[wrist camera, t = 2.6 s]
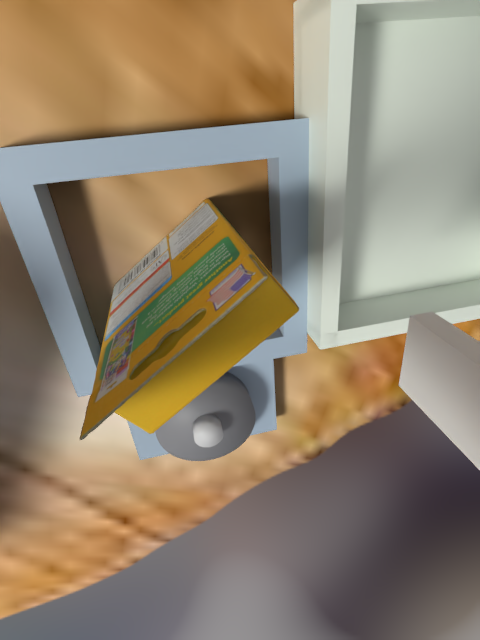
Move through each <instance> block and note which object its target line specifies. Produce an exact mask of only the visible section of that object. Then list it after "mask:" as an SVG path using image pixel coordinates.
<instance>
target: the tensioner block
mask: <svg viewBox="0 0 480 640" xmlns="http://www.w3.org/2000/svg"><path fill="white" fill-rule="evenodd" d="M259 159H267V161H268V184H269V208H270V232H271V255H272V275H273V276H274V277H275V279H276V280H277V281H278V282H279V283H280V284H281V285H282V287H283V288H284V289H285V290H286V291H287V293H288V294H289V295H290V296H291V297H292V299H293V300H294V301H295V303H296V304H297V305H298V307H299V311H298V312H297V313H296V314H295V315H294V316H292V317H291V318H290V319H289V320H288V321H287V322H285V323H284V324H283V325H282V326H281V327H280V328H278V329H277V330H276V331H275V332H274V333H272V334H271V335H270V336H269V337H268V338H266V339H265V340H264V341H263V342H262V343H260V344H259V345H258V346H257V347H256V348H255V349H253V350H252V351H251V352H250V353H249V354H248V355H246V356H245V357H244V358H243V359H241V360H240V361H239V362H238V363H237V364H236V365H234V366H233V367H232V368H231V369H230V370H228V371H227V372H226V373H225V374H224V375H222V376H221V377H220V378H219V379H218V380H216V381H215V382H214V383H213V384H211V385H210V386H209V387H208V388H207V389H206V390H204V391H203V392H202V393H201V394H199V395H198V396H197V397H196V398H195V399H193V400H192V401H191V402H190V403H189V404H187V405H186V406H185V407H184V408H183V409H182V410H180V411H179V412H178V413H177V414H176V415H174V416H173V417H172V418H171V419H169V420H168V421H167V422H166V423H165V424H163V425H162V426H161V427H160V428H159V429H157V430H156V431H155V432H154V433H152V434H149V433H147V432H146V431H144V430H143V429H141V428H139V427H138V426H136V425H134V424H133V423H131V422H129V421H128V420H127V421H128V424H129V427H130V431H131V434H132V437H133V440H134V443H135V446H136V449H137V452H138V455H139V458H140V460H143V459H147V458H152V457H156V456H160V455H165V454H169V453H170V454H171V455H173V456H175V457H178V458H181V459H185V460H191V461H205V460H211V459H215V458H219V457H222V456H224V455H226V454H228V453H230V452H232V451H234V450H235V449H237V448H238V447H239V446H241V445H242V444H243V443H244V442H245V441H246V439H247V438H248V437H249V436H250V435H254V434H259V433H263V432H267V431H272V430H276V429H277V425H276V403H275V382H274V360H273V359H276V358H281V357H286V356H291V355H296V354H301V353H306V352H307V295H308V189H309V118H303V119H290V120H280V121H270V122H260V123H249V124H239V125H229V126H218V127H208V128H198V129H188V130H177V131H167V132H157V133H146V134H136V135H126V136H116V137H105V138H95V139H85V140H74V141H64V142H54V143H44V144H33V145H23V146H13V147H2V148H0V202H1V205H2V207H3V210H4V212H5V215H6V217H7V220H8V222H9V225H10V227H11V230H12V232H13V235H14V237H15V240H16V242H17V245H18V247H19V250H20V252H21V255H22V257H23V260H24V262H25V265H26V267H27V270H28V272H29V275H30V277H31V280H32V282H33V285H34V288H35V290H36V293H37V295H38V298H39V300H40V303H41V305H42V308H43V310H44V313H45V315H46V318H47V320H48V323H49V325H50V328H51V330H52V333H53V335H54V338H55V340H56V343H57V345H58V348H59V350H60V353H61V355H62V358H63V360H64V363H65V365H66V368H67V370H68V373H69V375H70V378H71V381H72V383H73V386H74V388H75V391H76V393H77V396H78V397H81V396H86V395H91V394H92V390H93V385H94V381H95V377H96V371H97V366H98V362H99V357H100V352H101V347H100V344H99V341H98V338H97V335H96V332H95V329H94V326H93V323H92V320H91V317H90V314H89V311H88V308H87V305H86V302H85V299H84V296H83V293H82V290H81V287H80V284H79V281H78V278H77V274H76V271H75V268H74V265H73V262H72V259H71V256H70V253H69V250H68V247H67V244H66V241H65V238H64V235H63V232H62V229H61V226H60V223H59V220H58V217H57V214H56V211H55V208H54V205H53V201H52V198H51V195H50V192H49V189H48V186H47V183H54V182H63V181H72V180H81V179H90V178H99V177H108V176H117V175H126V174H135V173H143V172H152V171H161V170H170V169H179V168H188V167H197V166H206V165H215V164H224V163H232V162H241V161H250V160H259Z"/></svg>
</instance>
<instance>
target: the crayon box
mask: <svg viewBox="0 0 480 640" xmlns="http://www.w3.org/2000/svg"><path fill="white" fill-rule="evenodd" d="M298 311H299V307H298V305H297V304H296V303H295V301H294V300H293V299H292V297H291V296H290V295H289V294H288V293H287V291H286V290H285V289H284V288H283V287H282V285H281V284H280V283H279V282H278V281H277V280H276V279H275V277H274V276H273V275H272V274H271V273H270V271H269V270H268V269H267V268H266V267H265V266H264V264H263V263H262V262H261V261H260V259H259V258H258V257H257V256H256V254H255V253H254V252H253V251H252V250H251V248H250V247H249V246H248V245H247V244H246V242H245V241H244V240H243V238H242V237H241V236H240V234H239V233H238V232H237V231H236V230H235V228H234V227H233V226H232V225H231V224H230V223H229V221H228V220H227V219H226V218H225V217H224V215H223V214H222V213H221V212H220V211H219V210H218V209H217V207H216V206H215V205H214V204H213V203H212V201H211V200H209V199H205V200H204V201H203V202H202V203H201V204H200V205H199V206H198V207H197V208H196V209H195V210H194V211H193V212H192V213H191V214H189V215H188V216H187V217H186V218H185V219H184V220H183V221H182V222H181V223H180V224H179V225H178V226H177V227H176V228H175V229H174V230H173V231H172V232H171V233H170V234H169V235H167V236H166V237H165V238H164V239H163V240H162V241H161V242H160V243H159V244H158V245H156V246H155V247H154V248H153V249H152V250H151V251H150V252H149V253H148V254H147V255H146V256H145V257H144V258H143V259H142V260H141V261H140V262H139V263H138V264H136V265H135V266H134V267H133V268H132V269H131V270H130V271H129V272H128V273H127V274H126V275H125V276H124V277H123V278H122V279H121V280H119V281H118V282H117V283H116V284H115V286H114V290H113V295H112V299H111V305H110V310H109V315H108V320H107V324H106V328H105V334H104V338H103V343H102V347H101V352H100V357H99V362H98V366H97V371H96V377H95V381H94V385H93V390H92V394H91V396H90V399H89V402H88V406H87V410H86V416H85V420H84V424H83V427H82V431H81V436H80V440H82V439H84V438H85V437H86V436H87V435H88V434H89V433H90V432H91V431H93V430H95V429H96V428H97V427H98V426H99V425H100V424H101V423H102V422H103V421H104V420H105V419H107V418H108V417H109V416H110V415H111V414H112V413H114V412H115V413H116V414H118V415H120V416H121V417H123V418H124V419H126V420H128V421H129V422H131V423H133V424H134V425H136V426H138V427H139V428H141V429H143V430H144V431H146V432H147V433H149V434H152V433H154V432H155V431H156V430H157V429H159V428H160V427H161V426H162V425H163V424H165V423H166V422H167V421H168V420H169V419H171V418H172V417H173V416H174V415H176V414H177V413H178V412H179V411H180V410H182V409H183V408H184V407H185V406H186V405H187V404H189V403H190V402H191V401H192V400H193V399H195V398H196V397H197V396H198V395H199V394H201V393H202V392H203V391H204V390H206V389H207V388H208V387H209V386H210V385H211V384H213V383H214V382H215V381H216V380H218V379H219V378H220V377H221V376H222V375H224V374H225V373H226V372H227V371H228V370H230V369H231V368H232V367H233V366H234V365H236V364H237V363H238V362H239V361H240V360H241V359H243V358H244V357H245V356H246V355H248V354H249V353H250V352H251V351H252V350H253V349H255V348H256V347H257V346H258V345H259V344H260V343H262V342H263V341H264V340H265V339H266V338H268V337H269V336H270V335H271V334H272V333H274V332H275V331H276V330H277V329H278V328H280V327H281V326H282V325H283V324H284V323H285V322H287V321H288V320H289V319H290V318H291V317H292V316H294V315H295V314H296V313H297V312H298Z"/></svg>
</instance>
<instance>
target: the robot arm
mask: <svg viewBox="0 0 480 640" xmlns="http://www.w3.org/2000/svg"><path fill="white" fill-rule="evenodd" d="M399 386H400V387H401V388H402V389H403V391H404V392H405V393H406V394H407V395H408V396H409V397H410V398H411V399H412V400H413V401H414V402H415V403H416V404H417V405H418V406H419V407H420V408H421V409H422V410H423V411H424V412H425V414H426V415H427V416H428V417H429V418H430V419H431V420H432V421H433V422H434V423H435V424H436V425H437V426H438V427H439V428H440V429H441V430H442V431H443V432H444V433H445V434H446V435H447V436H448V438H449V439H450V440H451V441H453V443H454V444H455V445H456V446H457V447H458V448H459V449H460V450H461V451H462V452H463V453H464V454H465V455H466V456H467V457H468V458H469V460H470V461H472V462H473V464H474V465H475V466H476V467H477V468H478V469H479V470H480V342H479V341H477V340H476V339H474V338H472V337H471V336H469V335H468V334H466V333H465V332H463V331H462V330H460V329H459V328H457V327H455V326H454V325H452V324H451V323H449V322H448V321H446V320H445V319H443V318H442V317H440V316H438V315H437V314H435V313H434V312H426V313H421V314H416V315H410V318H409V324H408V330H407V337H406V343H405V349H404V356H403V362H402V368H401V375H400V381H399Z"/></svg>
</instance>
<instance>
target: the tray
mask: <svg viewBox="0 0 480 640" xmlns="http://www.w3.org/2000/svg"><path fill="white" fill-rule="evenodd" d="M293 6H294V119H303V118H309V189H308V295H307V333H308V334H309V335H310V337H311V338H312V339H313V341H314V342H315V343H316V345H317V346H318V347H319V349H320V350H321V349H326V348H331V347H336V346H341V345H346V344H351V343H357V342H362V341H367V340H372V339H377V338H382V337H387V336H392V335H398V334H403V333H407V330H408V324H409V318H410V315H416V314H421V313H426V312H434V313H435V314H437V315H438V316H440V317H442V318H443V319H445V320H446V321H448V322H449V323H451V324H454V323H459V322H464V321H469V320H475V319H480V0H297V1H296V2H295V3H293Z"/></svg>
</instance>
